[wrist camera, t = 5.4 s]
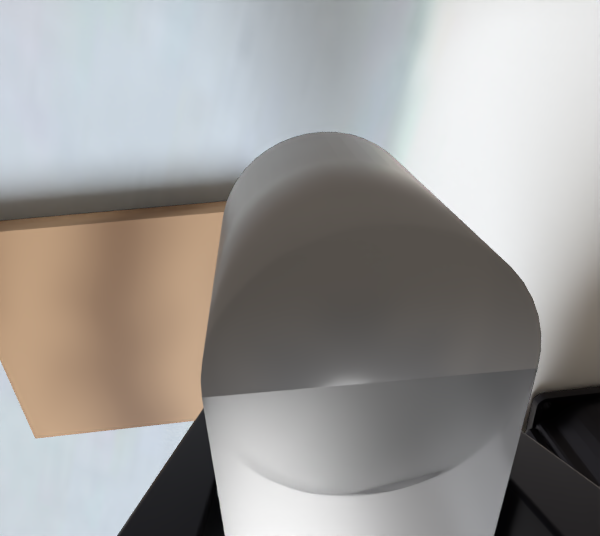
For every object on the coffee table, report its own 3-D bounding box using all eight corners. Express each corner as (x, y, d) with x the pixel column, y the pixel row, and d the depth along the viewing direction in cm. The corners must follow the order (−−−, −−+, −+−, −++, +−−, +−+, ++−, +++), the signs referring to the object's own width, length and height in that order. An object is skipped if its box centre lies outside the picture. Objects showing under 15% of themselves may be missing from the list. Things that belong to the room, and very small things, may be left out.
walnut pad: (254, 198, 18) (254, 209, 17) (275, 393, 23) (277, 411, 22) (-37, 224, 18) (-56, 236, 17) (45, 418, 22) (35, 438, 21)
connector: (429, 126, 8) (577, 212, 4) (387, 561, 13) (437, 754, 10) (210, 137, 8) (174, 237, 4) (261, 575, 13) (265, 778, 10)
